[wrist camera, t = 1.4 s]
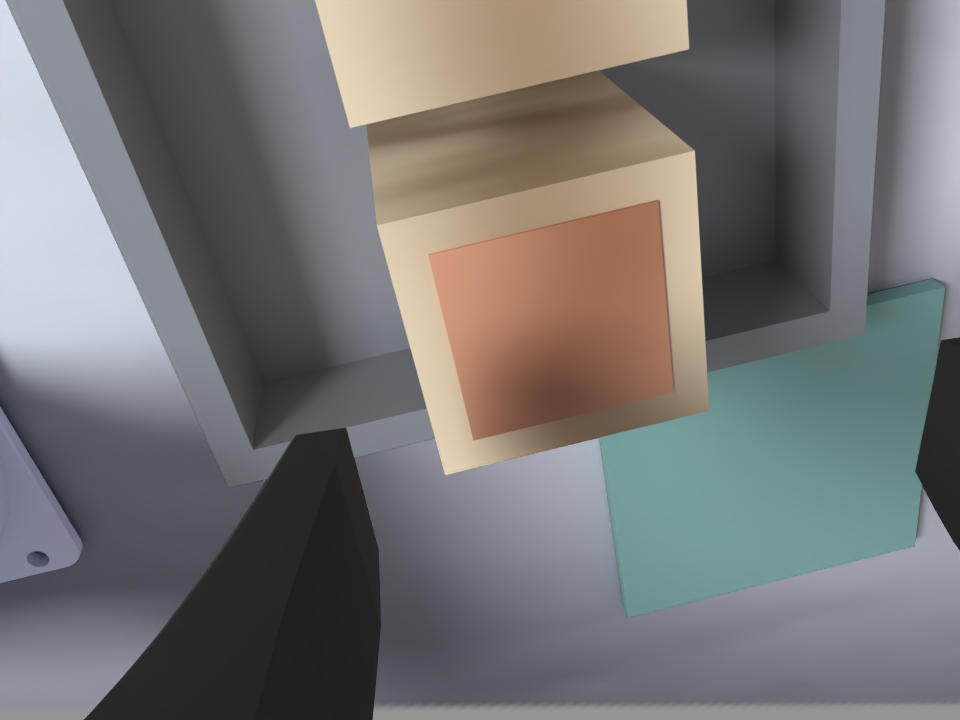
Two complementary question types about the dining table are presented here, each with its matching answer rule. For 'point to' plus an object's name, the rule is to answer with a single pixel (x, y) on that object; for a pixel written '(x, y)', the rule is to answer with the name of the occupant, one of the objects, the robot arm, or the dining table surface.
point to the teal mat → (780, 463)
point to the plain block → (483, 46)
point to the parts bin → (351, 210)
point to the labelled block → (543, 266)
